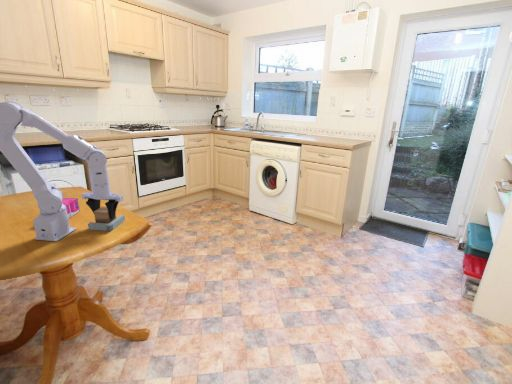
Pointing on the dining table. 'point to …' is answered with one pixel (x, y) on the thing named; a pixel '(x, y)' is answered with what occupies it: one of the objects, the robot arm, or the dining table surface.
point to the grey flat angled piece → (106, 224)
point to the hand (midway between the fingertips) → (105, 217)
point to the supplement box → (71, 206)
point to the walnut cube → (103, 215)
